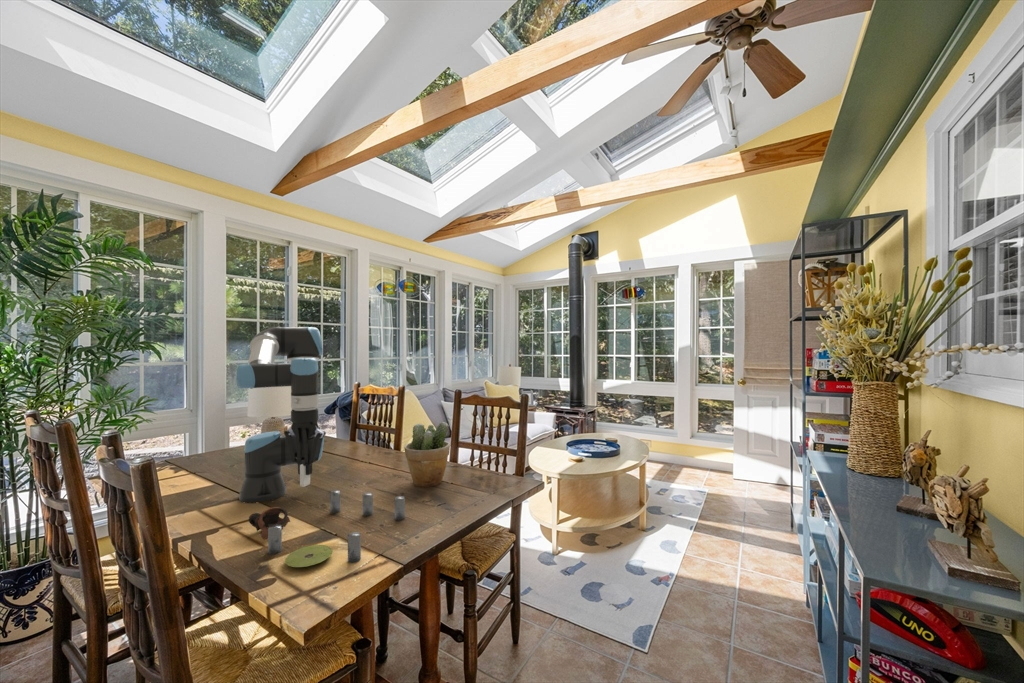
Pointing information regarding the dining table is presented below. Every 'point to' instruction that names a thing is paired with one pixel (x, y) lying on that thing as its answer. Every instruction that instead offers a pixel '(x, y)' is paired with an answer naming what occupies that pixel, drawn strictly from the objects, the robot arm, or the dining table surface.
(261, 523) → the pottery mug
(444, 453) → the potted plant
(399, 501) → the posts
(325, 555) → the green disc
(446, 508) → the dining table surface
